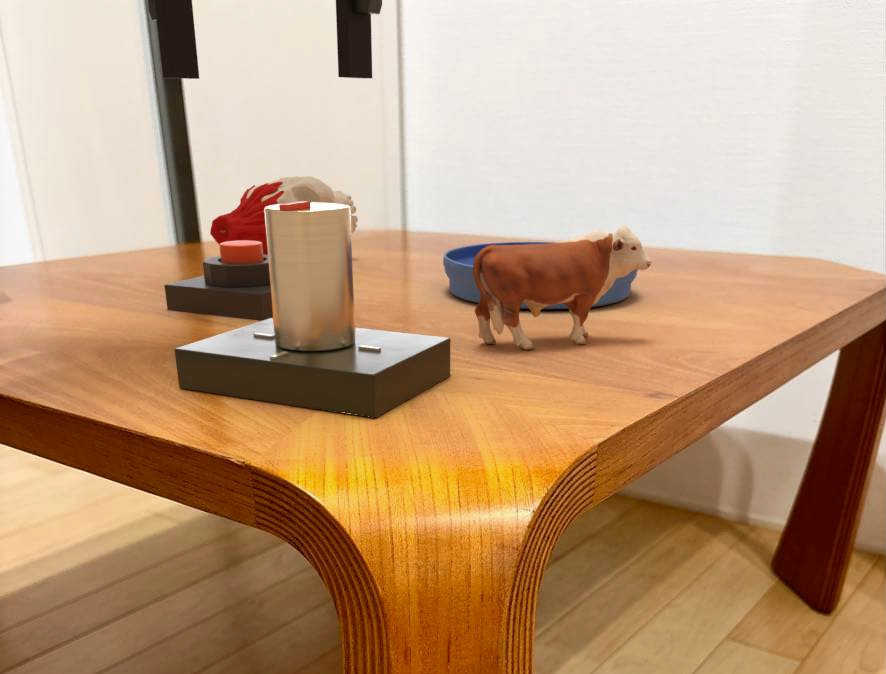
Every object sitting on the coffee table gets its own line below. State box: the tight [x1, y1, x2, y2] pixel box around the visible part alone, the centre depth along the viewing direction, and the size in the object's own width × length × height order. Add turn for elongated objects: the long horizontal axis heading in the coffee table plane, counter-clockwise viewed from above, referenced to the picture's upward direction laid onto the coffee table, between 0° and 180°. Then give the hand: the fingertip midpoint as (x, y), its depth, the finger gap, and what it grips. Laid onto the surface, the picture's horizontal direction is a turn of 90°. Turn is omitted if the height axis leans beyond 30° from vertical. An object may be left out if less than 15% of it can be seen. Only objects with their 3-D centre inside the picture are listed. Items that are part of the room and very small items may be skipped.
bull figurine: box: [473, 225, 653, 350], centre depth 66 cm, size 4×13×8 cm, turn 105°
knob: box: [264, 201, 356, 351], centre depth 55 cm, size 5×5×8 cm
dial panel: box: [174, 318, 451, 418], centre depth 57 cm, size 14×10×3 cm
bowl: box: [442, 241, 639, 310], centre depth 85 cm, size 18×18×4 cm
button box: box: [163, 255, 273, 321], centre depth 79 cm, size 10×9×4 cm
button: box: [218, 240, 264, 263], centre depth 78 cm, size 4×4×2 cm
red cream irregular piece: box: [209, 175, 359, 255], centre depth 103 cm, size 9×11×15 cm
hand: (264, 78), depth 58 cm, fingers open, 13 cm apart
